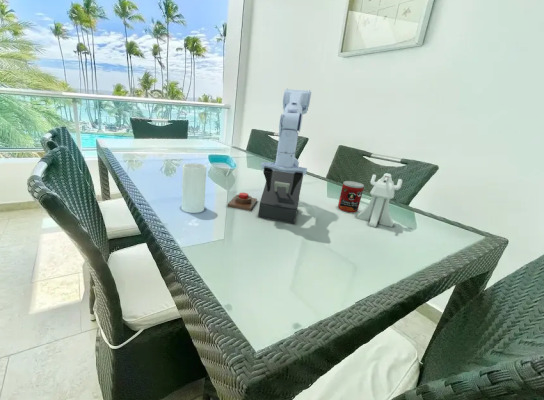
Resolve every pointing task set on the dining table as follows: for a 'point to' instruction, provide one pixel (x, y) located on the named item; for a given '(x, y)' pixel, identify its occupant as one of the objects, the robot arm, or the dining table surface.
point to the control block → (242, 203)
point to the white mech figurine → (380, 201)
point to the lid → (281, 191)
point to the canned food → (350, 196)
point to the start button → (243, 195)
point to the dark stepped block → (277, 213)
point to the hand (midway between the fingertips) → (279, 192)
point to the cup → (193, 187)
